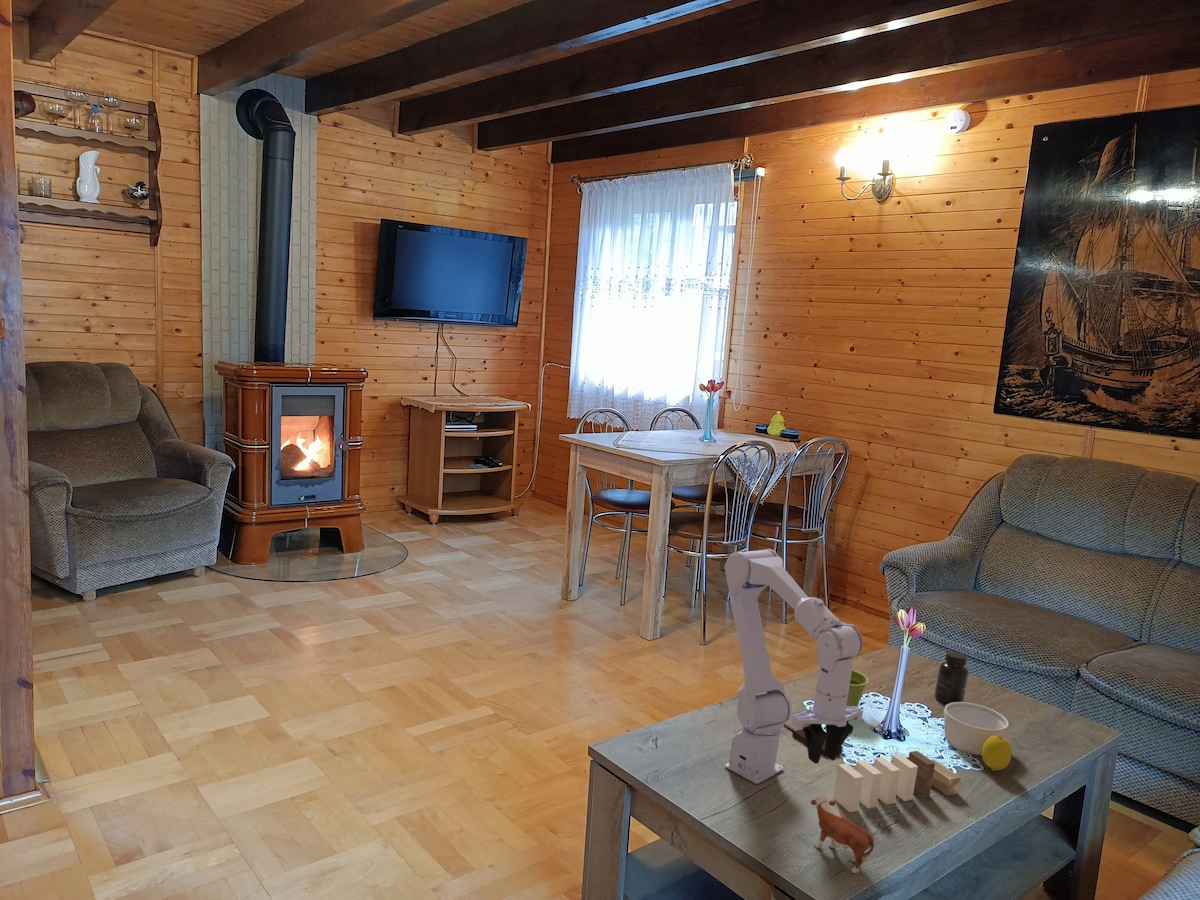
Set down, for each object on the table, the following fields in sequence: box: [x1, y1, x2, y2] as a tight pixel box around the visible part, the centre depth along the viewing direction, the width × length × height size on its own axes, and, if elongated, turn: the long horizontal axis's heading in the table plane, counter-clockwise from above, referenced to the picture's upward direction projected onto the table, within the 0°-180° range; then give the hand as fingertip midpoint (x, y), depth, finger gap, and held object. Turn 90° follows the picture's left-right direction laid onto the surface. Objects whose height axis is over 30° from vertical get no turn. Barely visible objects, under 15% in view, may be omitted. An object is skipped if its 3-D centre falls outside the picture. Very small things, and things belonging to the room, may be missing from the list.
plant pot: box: [846, 669, 869, 708], centre depth 203 cm, size 9×9×9 cm
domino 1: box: [832, 763, 863, 813], centre depth 164 cm, size 2×5×7 cm, turn 25°
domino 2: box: [854, 759, 882, 810], centre depth 166 cm, size 2×5×7 cm, turn 25°
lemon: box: [981, 735, 1012, 772], centre depth 182 cm, size 6×6×8 cm
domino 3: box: [872, 756, 900, 806], centre depth 168 cm, size 2×5×7 cm, turn 25°
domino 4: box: [890, 753, 918, 802], centre depth 170 cm, size 2×5×7 cm, turn 25°
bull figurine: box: [810, 795, 875, 874], centre depth 148 cm, size 4×13×8 cm, turn 33°
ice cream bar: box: [783, 720, 844, 758], centre depth 189 cm, size 5×2×15 cm
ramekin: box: [943, 701, 1009, 757], centre depth 193 cm, size 13×13×7 cm
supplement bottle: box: [934, 650, 970, 705], centre depth 214 cm, size 7×7×12 cm
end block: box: [930, 759, 962, 797], centre depth 174 cm, size 3×7×4 cm, turn 25°
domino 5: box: [907, 750, 935, 798], centre depth 172 cm, size 2×5×7 cm, turn 25°
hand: (821, 759), depth 160 cm, fingers open, 3 cm apart
